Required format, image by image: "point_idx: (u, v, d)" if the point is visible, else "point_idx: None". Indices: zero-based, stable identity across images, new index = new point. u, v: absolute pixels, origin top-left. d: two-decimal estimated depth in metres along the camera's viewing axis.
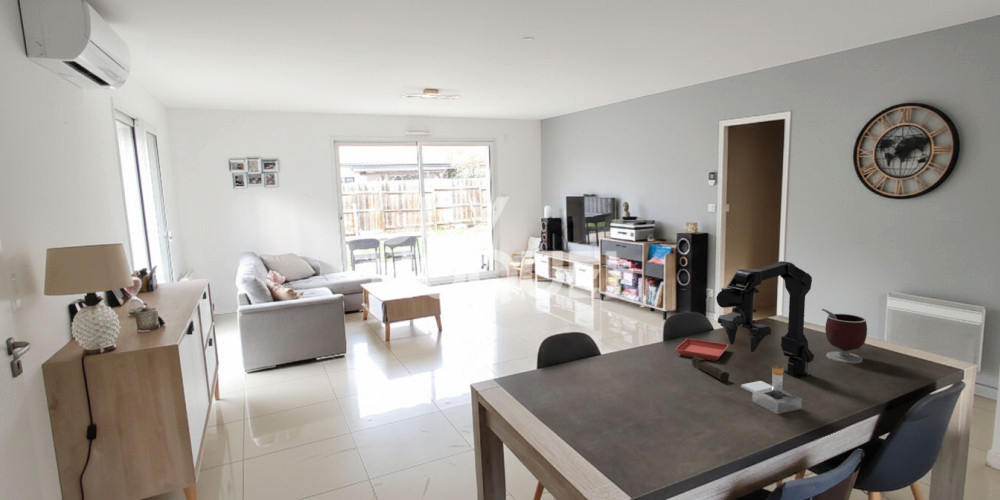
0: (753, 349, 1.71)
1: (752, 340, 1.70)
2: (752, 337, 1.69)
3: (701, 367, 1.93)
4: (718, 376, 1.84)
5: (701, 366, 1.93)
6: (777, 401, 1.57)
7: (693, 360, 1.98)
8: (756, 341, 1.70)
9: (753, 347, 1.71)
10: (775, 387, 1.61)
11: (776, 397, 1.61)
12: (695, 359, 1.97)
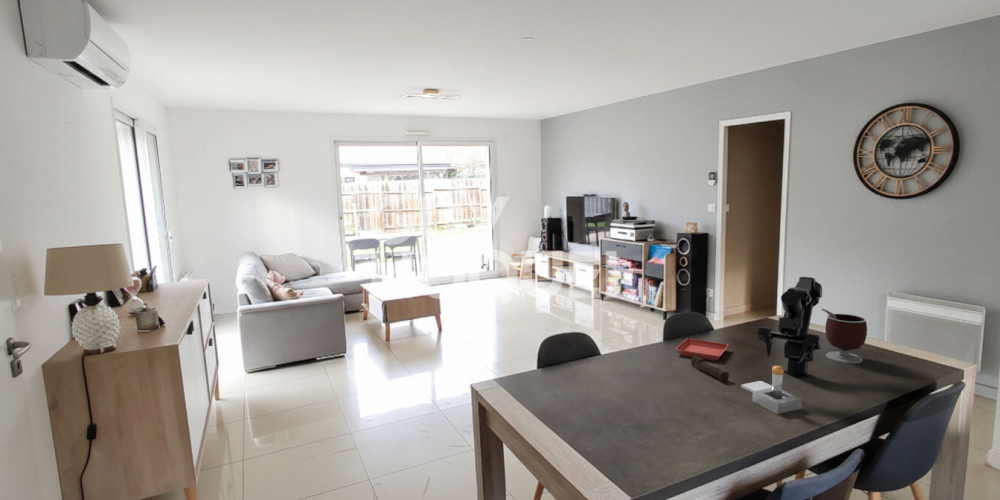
0: (801, 359, 1.64)
1: (803, 348, 1.64)
2: (806, 344, 1.64)
3: (700, 367, 1.93)
4: (718, 376, 1.84)
5: (701, 366, 1.93)
6: (777, 401, 1.57)
7: (692, 360, 1.98)
8: (805, 352, 1.65)
9: (802, 357, 1.64)
10: (775, 387, 1.61)
11: (776, 397, 1.61)
12: (694, 359, 1.97)
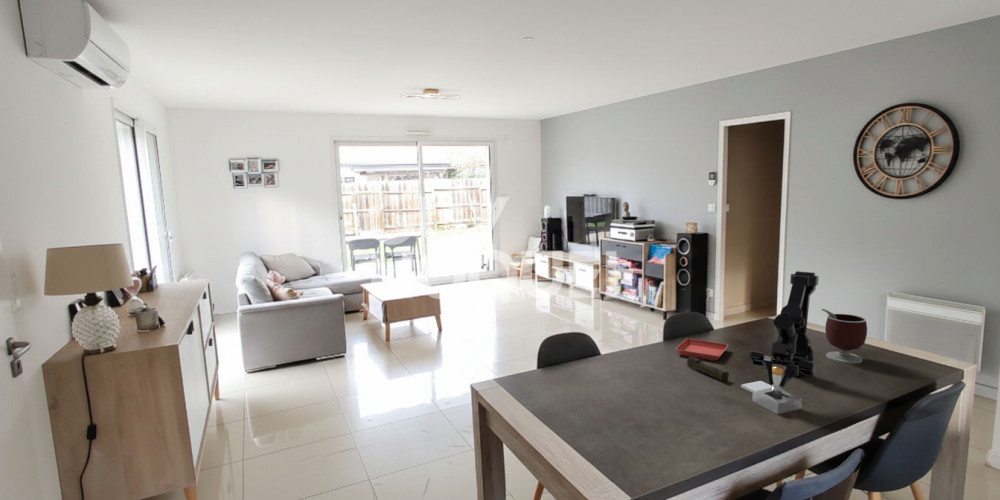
0: (784, 384, 1.60)
1: (786, 373, 1.60)
2: (789, 369, 1.60)
3: (698, 368, 1.92)
4: (718, 376, 1.83)
5: (698, 366, 1.92)
6: (777, 401, 1.57)
7: (689, 361, 1.98)
8: (788, 377, 1.61)
9: (785, 382, 1.60)
10: (775, 387, 1.61)
11: (776, 397, 1.61)
12: (691, 360, 1.96)
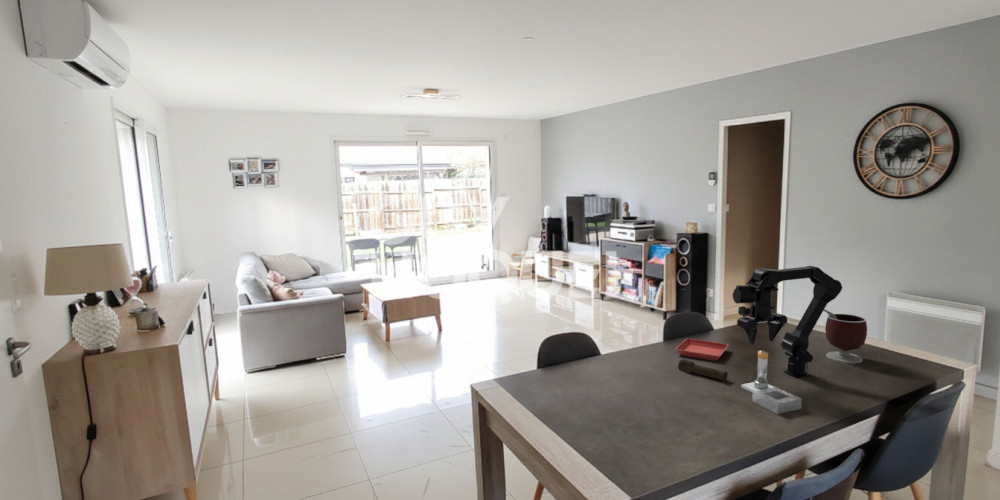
0: (750, 341, 1.84)
1: None
2: None
3: (694, 370, 1.90)
4: (719, 377, 1.83)
5: (694, 369, 1.90)
6: (777, 401, 1.57)
7: (681, 364, 1.94)
8: (750, 334, 1.83)
9: (749, 339, 1.84)
10: (759, 370, 1.73)
11: (760, 379, 1.73)
12: (684, 363, 1.93)
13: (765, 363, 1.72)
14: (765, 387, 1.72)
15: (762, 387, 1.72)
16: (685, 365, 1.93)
